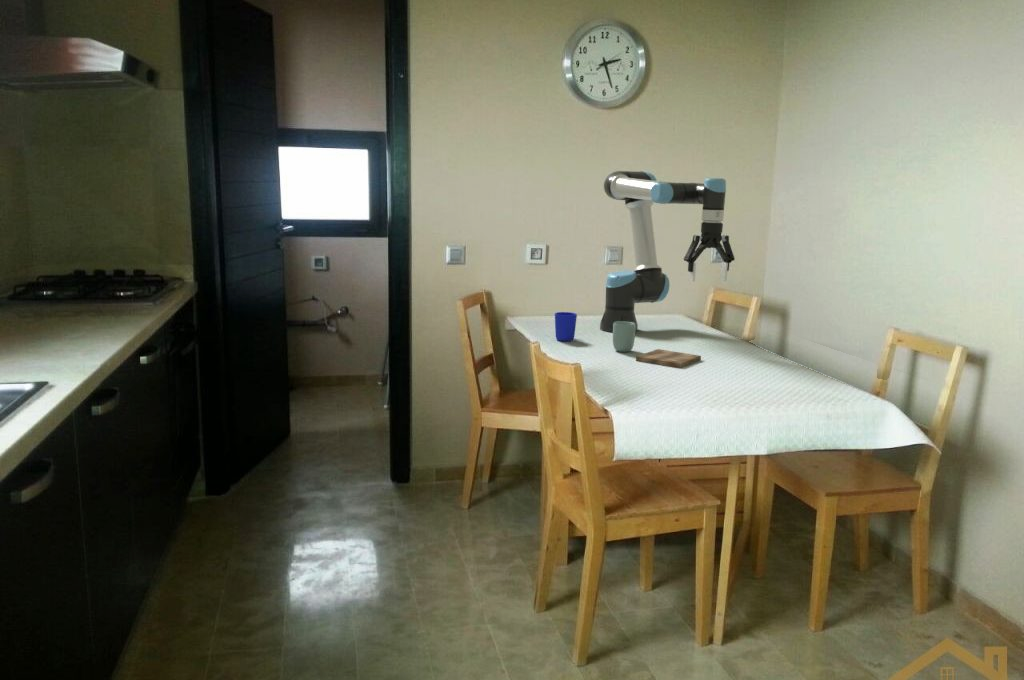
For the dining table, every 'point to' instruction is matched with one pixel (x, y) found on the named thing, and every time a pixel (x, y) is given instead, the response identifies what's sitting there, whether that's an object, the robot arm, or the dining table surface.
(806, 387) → the dining table surface
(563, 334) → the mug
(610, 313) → the robot arm
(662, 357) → the board
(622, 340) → the cup
